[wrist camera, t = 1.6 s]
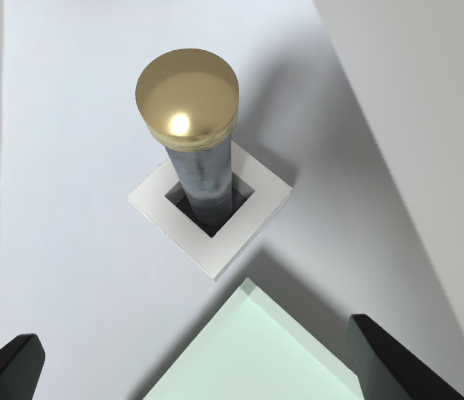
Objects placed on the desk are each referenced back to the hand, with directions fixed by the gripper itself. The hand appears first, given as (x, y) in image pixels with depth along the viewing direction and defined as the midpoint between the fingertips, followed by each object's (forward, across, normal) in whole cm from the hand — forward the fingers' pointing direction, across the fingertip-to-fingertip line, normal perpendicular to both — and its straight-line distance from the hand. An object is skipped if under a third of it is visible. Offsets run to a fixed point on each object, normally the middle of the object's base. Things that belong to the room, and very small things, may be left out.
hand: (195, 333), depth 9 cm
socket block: (+15, 0, +4) cm, 16 cm away
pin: (+15, 0, +4) cm, 16 cm away
